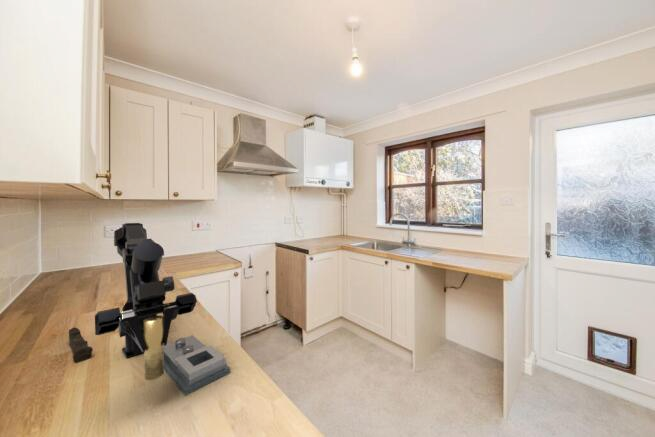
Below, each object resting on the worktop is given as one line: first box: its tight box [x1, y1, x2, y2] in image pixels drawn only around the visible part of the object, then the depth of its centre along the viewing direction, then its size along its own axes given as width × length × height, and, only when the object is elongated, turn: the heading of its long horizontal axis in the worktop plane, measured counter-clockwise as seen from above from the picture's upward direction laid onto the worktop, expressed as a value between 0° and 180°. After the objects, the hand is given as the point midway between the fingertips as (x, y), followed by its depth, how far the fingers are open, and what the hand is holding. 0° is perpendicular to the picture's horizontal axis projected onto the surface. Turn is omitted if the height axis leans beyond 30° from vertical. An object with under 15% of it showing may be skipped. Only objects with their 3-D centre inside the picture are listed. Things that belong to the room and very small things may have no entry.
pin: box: [143, 315, 165, 381], centre depth 55 cm, size 4×4×12 cm
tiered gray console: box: [163, 335, 231, 397], centre depth 70 cm, size 22×11×4 cm, turn 49°
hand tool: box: [68, 327, 93, 364], centre depth 77 cm, size 19×4×5 cm, turn 49°
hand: (155, 348), depth 54 cm, fingers closed on pin, 3 cm apart
